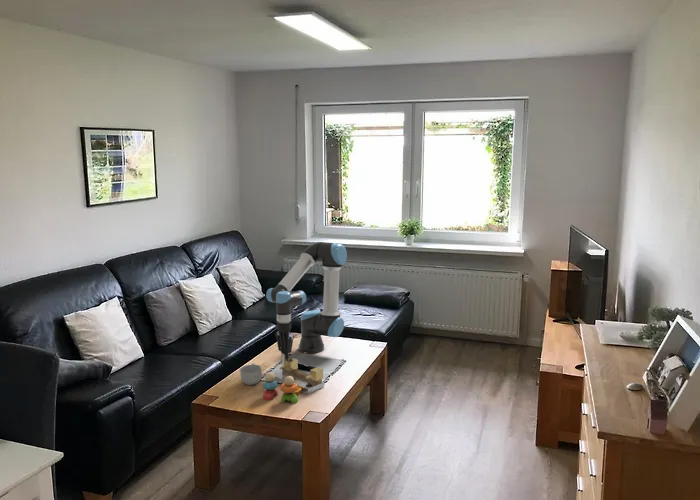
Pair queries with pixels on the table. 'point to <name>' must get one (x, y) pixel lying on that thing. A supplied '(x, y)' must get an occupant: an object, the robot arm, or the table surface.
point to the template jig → (304, 379)
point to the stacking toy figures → (287, 387)
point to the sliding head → (290, 364)
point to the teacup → (251, 374)
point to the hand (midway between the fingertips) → (285, 364)
